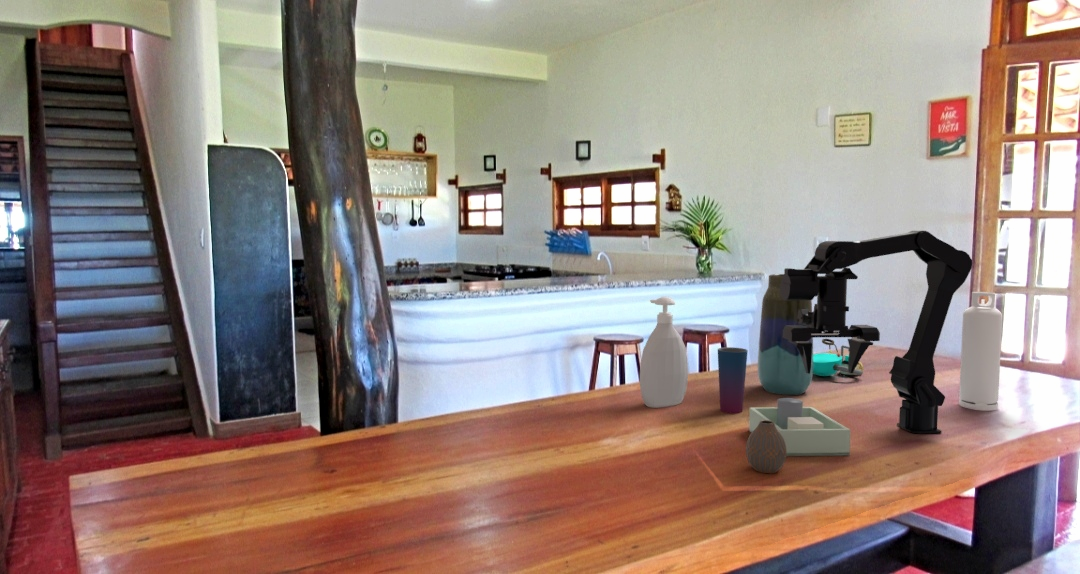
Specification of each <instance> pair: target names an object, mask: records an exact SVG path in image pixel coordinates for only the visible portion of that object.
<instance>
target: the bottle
mask: <svg viewBox="0 0 1080 574" xmlns="http://www.w3.org/2000/svg"><path fill="white" fill-rule="evenodd" d="M980 297H988V300H987V302H986V303H985V301H986V299H983V298H982V299H980V301H981V302H980V303H979V298H980ZM995 303H996V293H995V292H990V291H972V292H971V306H970V307H968V308H966V309H965V310H964V311H963V312H962V327H961V328H962V331H961V352H960V369H959V370H960V372H959V373H960V374H959V391H958V392H959V395H958V396H959V399H958V405H959V406H960V407H963V408H966V409H969V410H976V411H983V412H988V411H990V412H991V411H996V410H998V408H999V403H998V401H999V390H1000V388H999V387H1000V372H1001V354H1002V353H1001V352H1002V350H1001V349H1002V333H1003V332H1002V331H1003V314H1002V312H1001V311H1000V310H999V309H998V308H997V307H996V304H995Z"/></svg>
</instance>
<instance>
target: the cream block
mask: <svg viewBox="0 0 1080 574" xmlns="http://www.w3.org/2000/svg"><path fill="white" fill-rule="evenodd" d="M823 427H824V424H823V423H822V422H820V421H818V420H816V419H815V418H813V417H788V429H823Z"/></svg>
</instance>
